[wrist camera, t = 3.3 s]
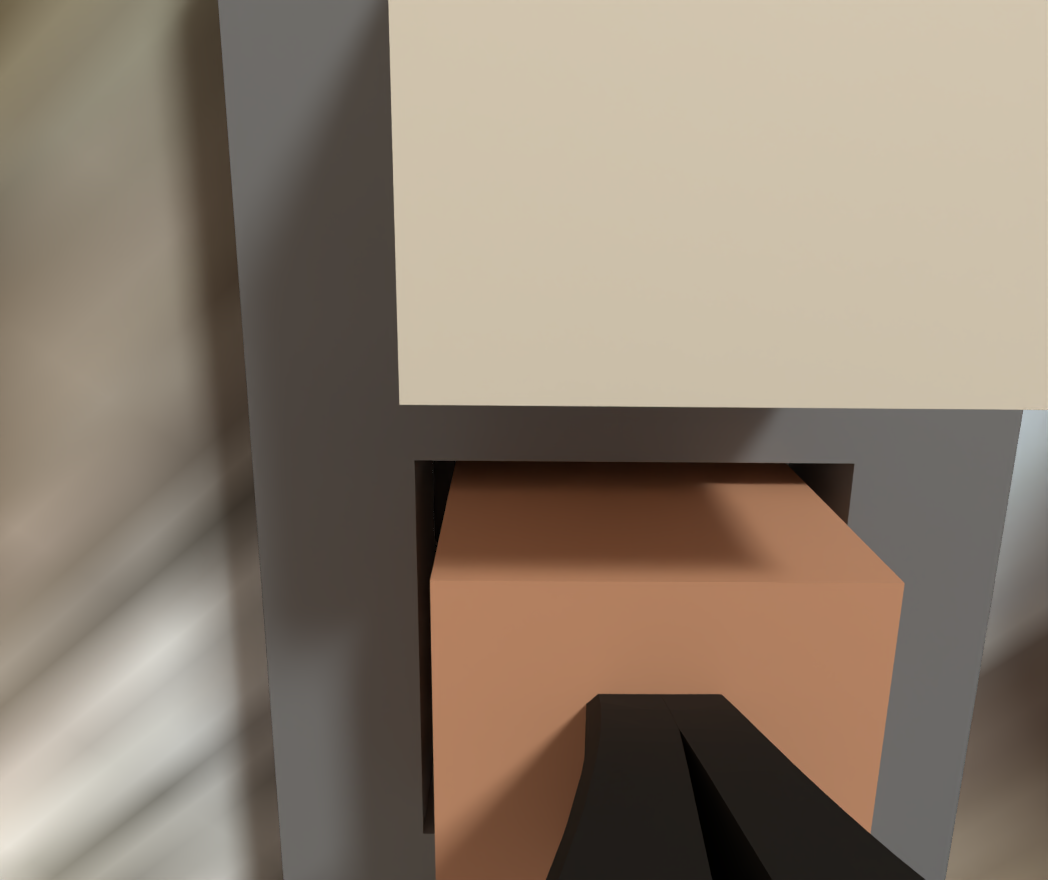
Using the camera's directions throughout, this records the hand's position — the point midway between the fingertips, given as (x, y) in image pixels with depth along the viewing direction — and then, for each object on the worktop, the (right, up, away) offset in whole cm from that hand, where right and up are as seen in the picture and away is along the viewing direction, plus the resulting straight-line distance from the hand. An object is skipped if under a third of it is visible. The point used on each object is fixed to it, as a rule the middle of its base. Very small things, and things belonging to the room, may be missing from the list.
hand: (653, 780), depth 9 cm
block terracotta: (0, +1, +4) cm, 4 cm away
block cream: (0, +7, 0) cm, 7 cm away
